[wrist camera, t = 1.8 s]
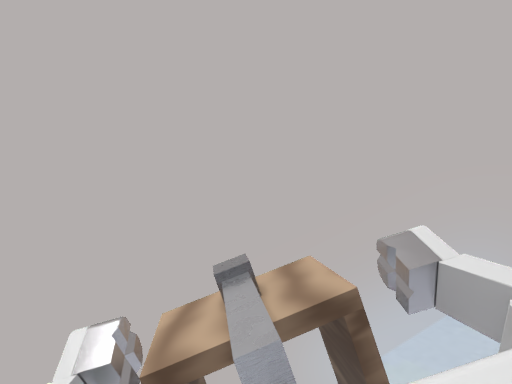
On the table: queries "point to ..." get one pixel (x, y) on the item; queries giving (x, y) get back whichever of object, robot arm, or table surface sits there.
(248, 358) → the bar
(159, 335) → the wooden side table
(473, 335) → the table surface
